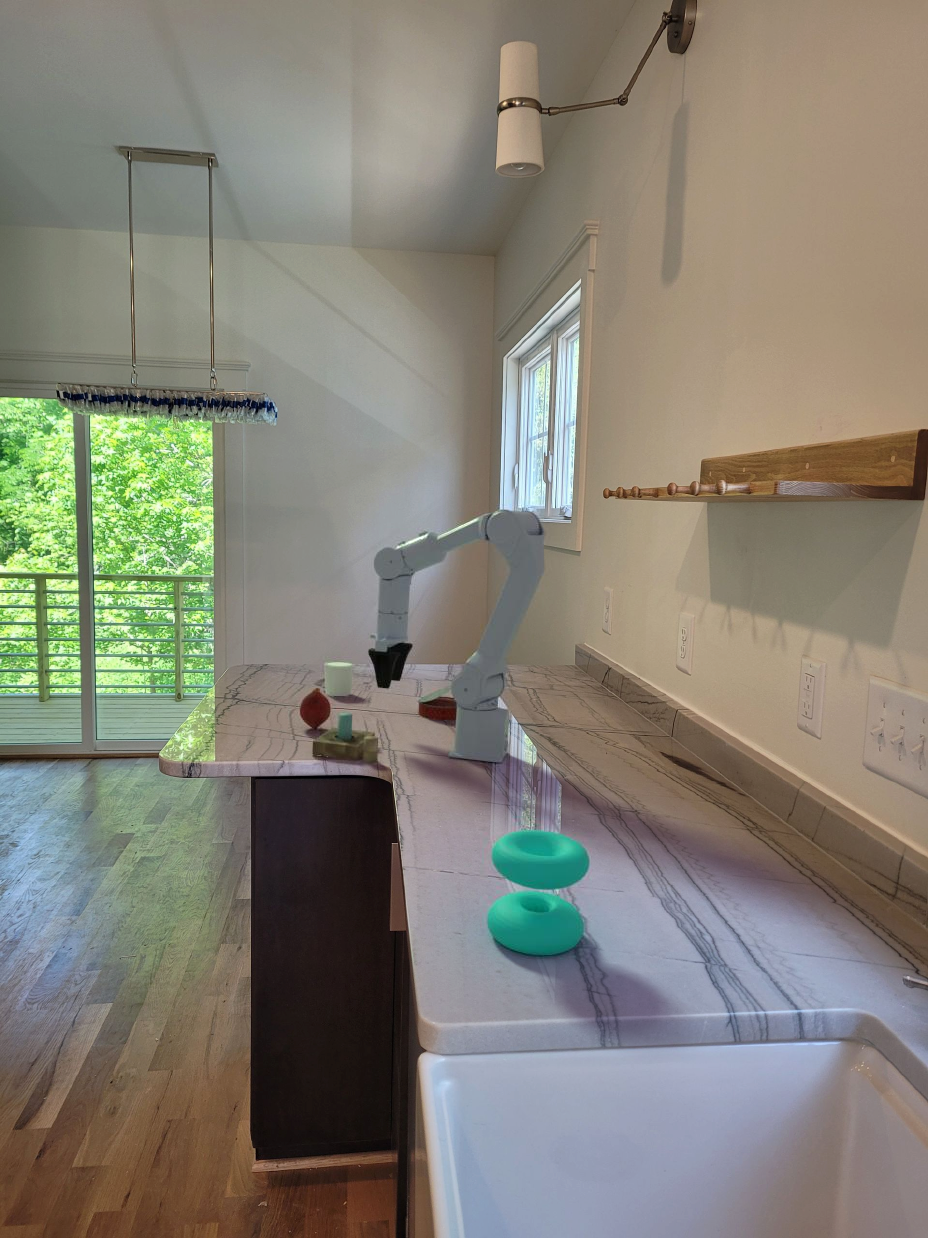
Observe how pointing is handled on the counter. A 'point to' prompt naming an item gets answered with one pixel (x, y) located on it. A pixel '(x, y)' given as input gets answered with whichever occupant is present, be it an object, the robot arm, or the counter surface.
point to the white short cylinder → (338, 678)
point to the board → (341, 745)
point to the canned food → (438, 706)
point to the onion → (315, 708)
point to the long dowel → (344, 726)
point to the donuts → (537, 892)
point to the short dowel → (370, 749)
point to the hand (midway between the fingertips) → (389, 684)
